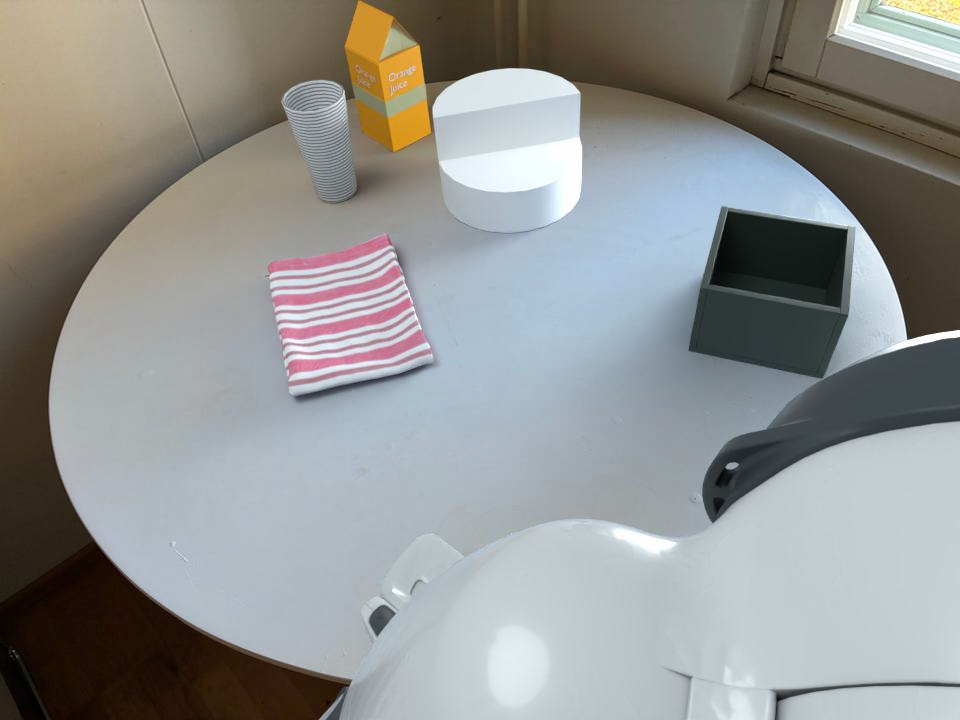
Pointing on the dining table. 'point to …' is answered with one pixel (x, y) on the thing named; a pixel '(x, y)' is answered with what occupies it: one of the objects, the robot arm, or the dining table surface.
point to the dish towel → (345, 317)
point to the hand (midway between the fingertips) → (551, 562)
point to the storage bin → (774, 291)
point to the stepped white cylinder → (509, 149)
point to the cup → (323, 136)
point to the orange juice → (387, 79)
